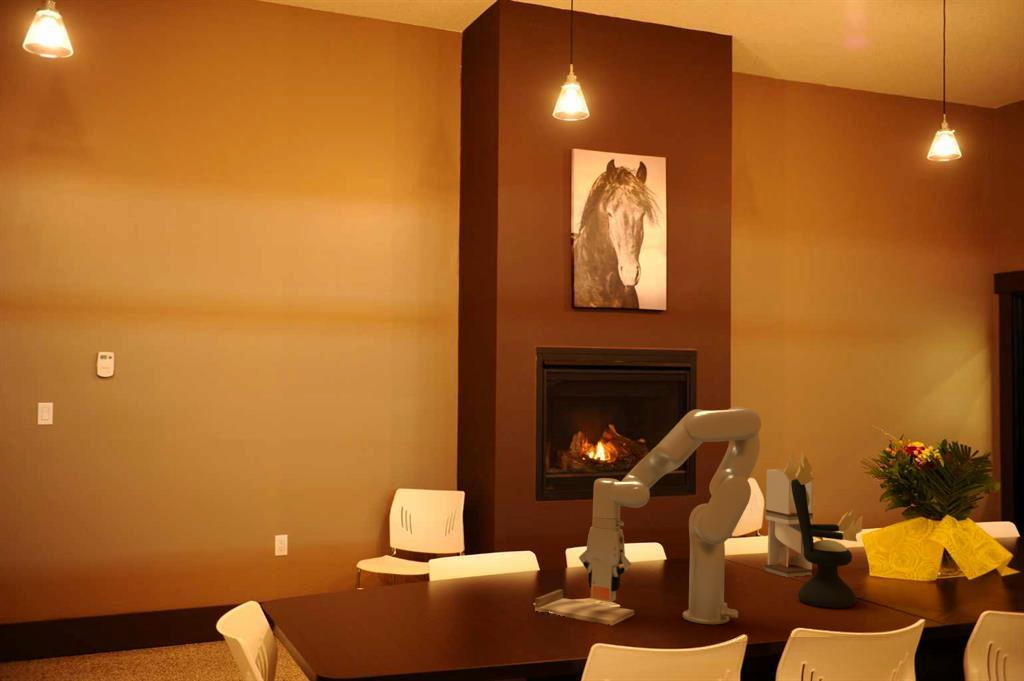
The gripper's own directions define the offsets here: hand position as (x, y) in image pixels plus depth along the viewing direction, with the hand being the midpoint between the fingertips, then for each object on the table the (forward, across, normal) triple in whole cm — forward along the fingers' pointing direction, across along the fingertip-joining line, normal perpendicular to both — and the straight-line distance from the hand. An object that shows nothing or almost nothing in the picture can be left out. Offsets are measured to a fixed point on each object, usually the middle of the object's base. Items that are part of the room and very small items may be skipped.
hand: (603, 588), depth 267 cm
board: (+8, +6, 0) cm, 10 cm away
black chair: (+7, -45, -55) cm, 72 cm away
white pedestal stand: (+7, -25, -92) cm, 96 cm away
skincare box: (+3, 0, 0) cm, 3 cm away
